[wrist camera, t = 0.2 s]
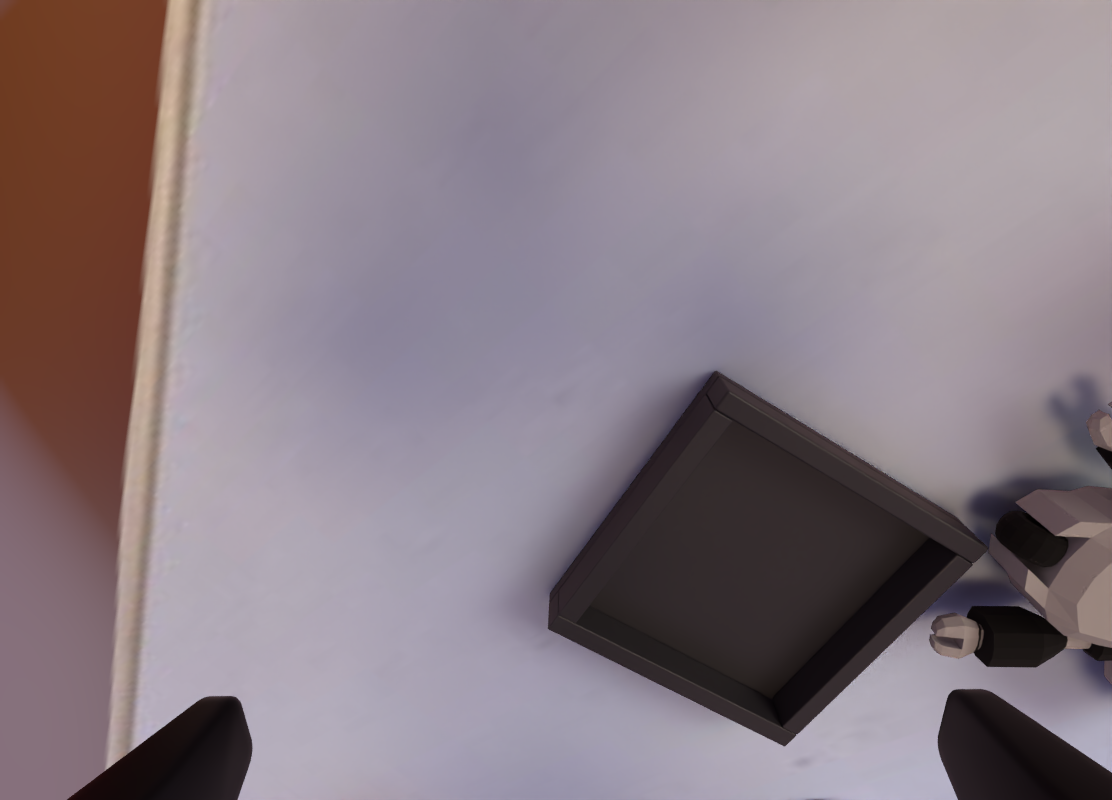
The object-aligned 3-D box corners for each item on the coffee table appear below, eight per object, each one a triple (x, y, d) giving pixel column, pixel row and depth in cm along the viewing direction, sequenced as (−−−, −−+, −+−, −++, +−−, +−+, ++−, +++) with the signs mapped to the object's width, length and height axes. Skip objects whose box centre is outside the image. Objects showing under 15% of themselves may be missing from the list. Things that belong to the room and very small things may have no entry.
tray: (770, 706, 28) (785, 747, 26) (549, 593, 26) (547, 629, 24) (957, 517, 24) (990, 549, 23) (715, 369, 22) (728, 390, 21)
